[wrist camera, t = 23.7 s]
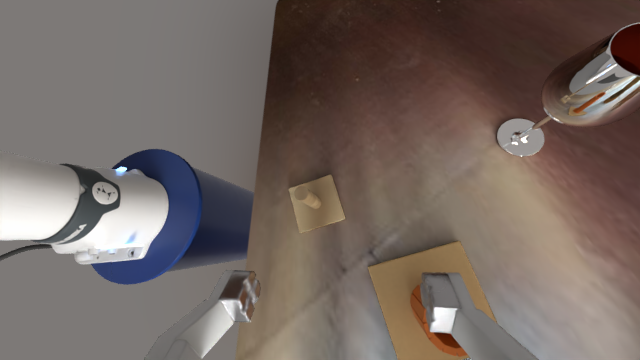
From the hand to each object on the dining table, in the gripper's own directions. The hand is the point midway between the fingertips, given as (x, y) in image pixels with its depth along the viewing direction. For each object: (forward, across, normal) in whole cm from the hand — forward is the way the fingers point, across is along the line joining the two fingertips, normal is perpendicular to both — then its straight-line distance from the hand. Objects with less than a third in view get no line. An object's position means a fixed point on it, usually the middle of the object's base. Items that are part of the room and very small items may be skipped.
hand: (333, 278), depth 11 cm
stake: (+25, +6, +14) cm, 29 cm away
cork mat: (+14, -10, +24) cm, 30 cm away
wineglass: (+31, -26, +7) cm, 42 cm away
